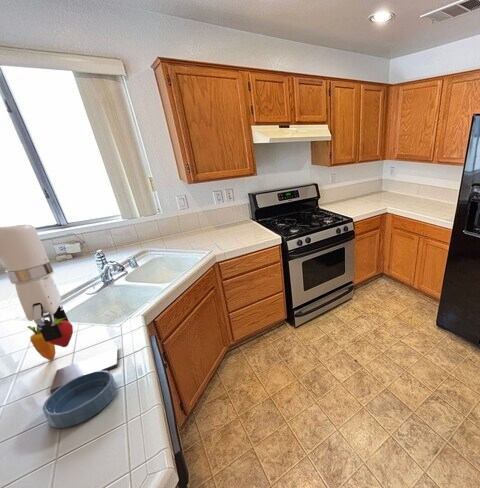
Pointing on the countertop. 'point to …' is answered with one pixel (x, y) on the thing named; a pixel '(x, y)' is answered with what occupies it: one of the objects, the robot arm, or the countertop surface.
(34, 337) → the carrot
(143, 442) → the countertop surface
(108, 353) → the board
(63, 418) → the basin
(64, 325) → the strawberry
